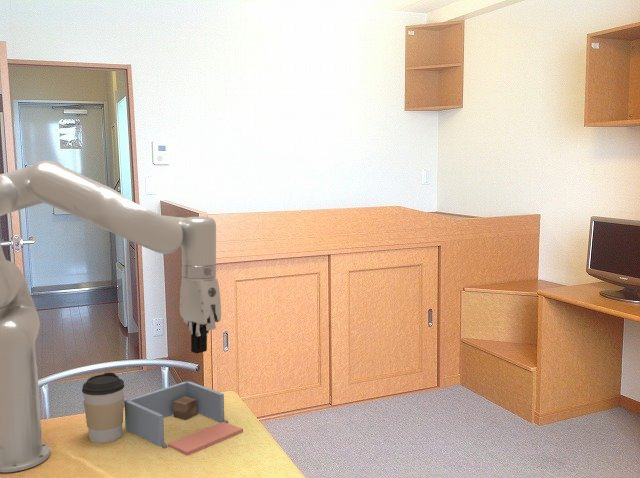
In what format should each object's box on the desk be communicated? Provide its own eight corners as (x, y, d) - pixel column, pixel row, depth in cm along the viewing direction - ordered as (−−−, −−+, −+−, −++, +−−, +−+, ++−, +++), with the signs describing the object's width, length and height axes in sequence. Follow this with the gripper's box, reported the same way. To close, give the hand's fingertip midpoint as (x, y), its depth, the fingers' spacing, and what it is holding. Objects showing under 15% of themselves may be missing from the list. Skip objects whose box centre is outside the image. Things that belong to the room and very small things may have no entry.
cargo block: (185, 420, 153) (185, 404, 153) (173, 417, 155) (172, 401, 155) (197, 415, 156) (196, 399, 156) (185, 411, 158) (184, 396, 158)
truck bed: (164, 453, 138) (163, 418, 137) (125, 433, 148) (124, 400, 147) (228, 427, 151) (227, 395, 150) (188, 411, 161) (187, 380, 161)
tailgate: (168, 449, 139) (187, 458, 134) (167, 443, 139) (187, 452, 134) (223, 427, 151) (243, 434, 146) (223, 421, 151) (242, 428, 146)
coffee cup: (114, 451, 139) (110, 385, 137) (76, 448, 141) (73, 382, 139) (134, 434, 148) (131, 371, 146) (98, 431, 150) (95, 369, 148)
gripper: (233, 274, 140) (232, 355, 142) (193, 266, 150) (193, 342, 153) (205, 278, 135) (205, 362, 137) (165, 269, 145) (166, 348, 147)
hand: (199, 351), depth 145 cm, fingers closed
